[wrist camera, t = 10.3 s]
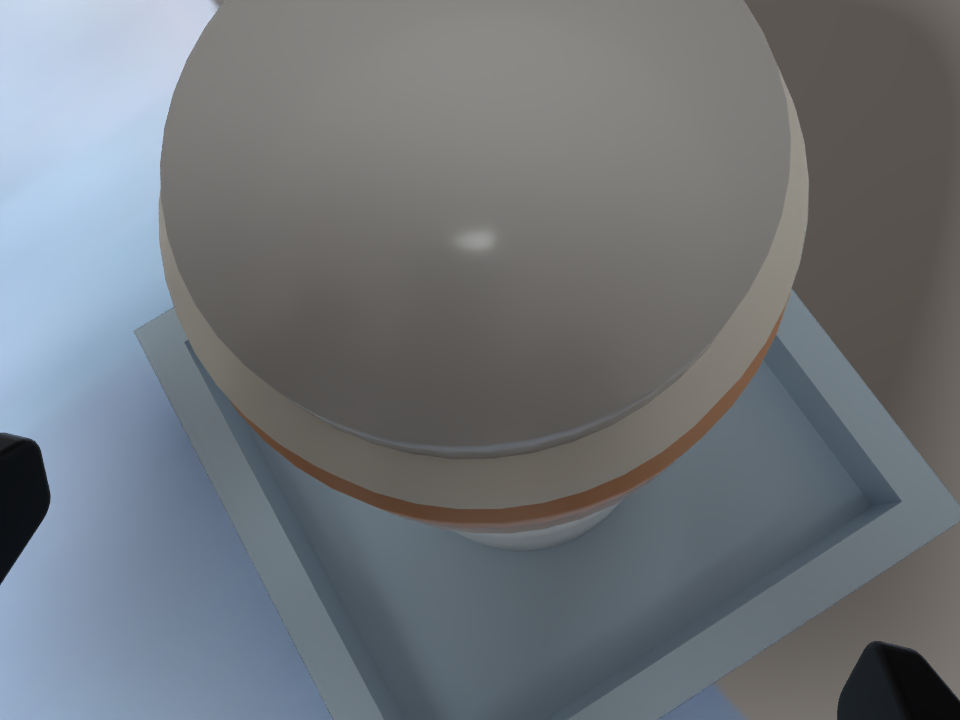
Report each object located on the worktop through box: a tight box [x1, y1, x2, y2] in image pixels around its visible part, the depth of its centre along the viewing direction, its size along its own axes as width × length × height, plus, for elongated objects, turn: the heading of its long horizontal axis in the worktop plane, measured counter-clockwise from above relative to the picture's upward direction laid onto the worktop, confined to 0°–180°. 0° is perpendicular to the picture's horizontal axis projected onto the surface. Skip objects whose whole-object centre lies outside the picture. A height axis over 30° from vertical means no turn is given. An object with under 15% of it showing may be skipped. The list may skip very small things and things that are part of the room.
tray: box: [134, 288, 960, 720], centre depth 16 cm, size 12×12×2 cm
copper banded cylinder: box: [159, 0, 809, 551], centre depth 11 cm, size 5×5×12 cm
